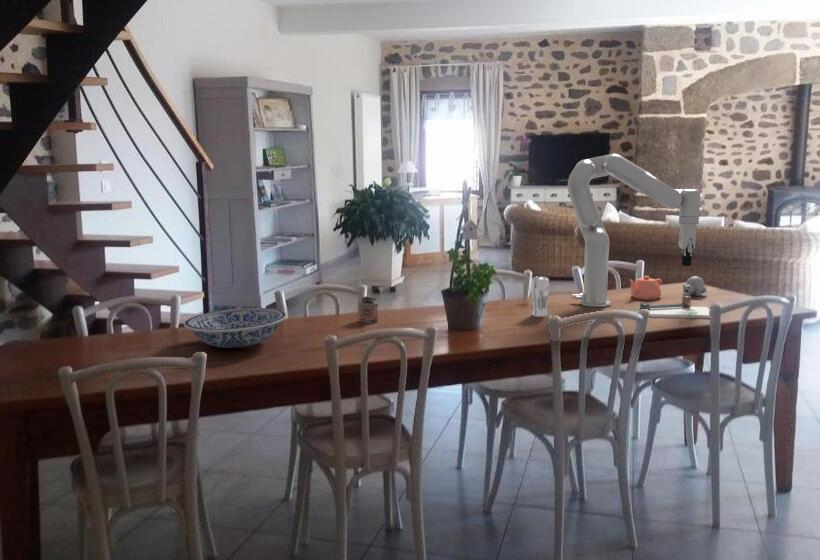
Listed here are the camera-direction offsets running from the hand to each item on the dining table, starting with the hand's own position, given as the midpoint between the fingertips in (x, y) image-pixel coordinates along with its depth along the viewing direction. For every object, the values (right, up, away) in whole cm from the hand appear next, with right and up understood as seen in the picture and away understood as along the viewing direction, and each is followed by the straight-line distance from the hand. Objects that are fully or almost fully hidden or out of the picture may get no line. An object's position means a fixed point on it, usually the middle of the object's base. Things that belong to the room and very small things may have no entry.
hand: (686, 265), depth 306 cm
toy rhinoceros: (+11, -13, +23) cm, 29 cm away
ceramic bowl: (-171, -29, -46) cm, 180 cm away
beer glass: (-61, -20, -9) cm, 65 cm away
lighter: (-128, -22, -15) cm, 131 cm away
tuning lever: (-10, -17, -5) cm, 21 cm away
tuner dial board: (-7, -19, -9) cm, 22 cm away
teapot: (-10, -14, +22) cm, 28 cm away
